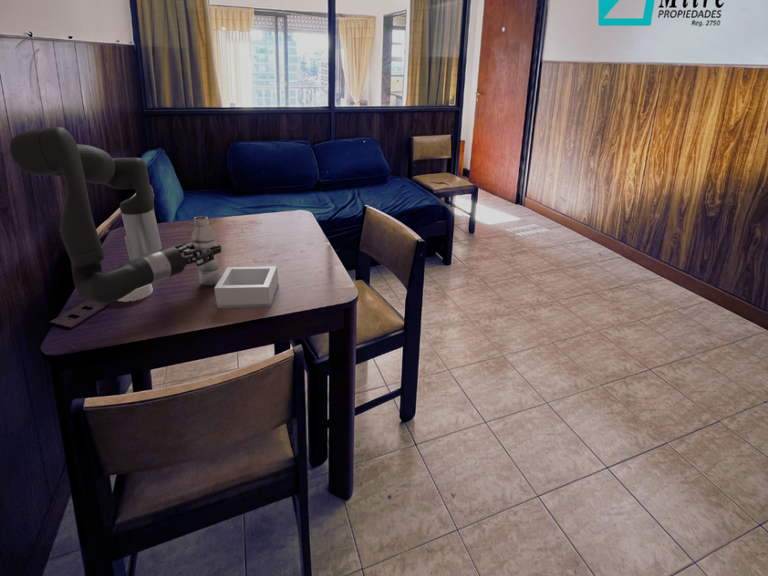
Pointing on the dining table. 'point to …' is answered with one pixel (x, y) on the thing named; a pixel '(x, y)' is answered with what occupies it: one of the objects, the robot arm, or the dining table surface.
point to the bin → (247, 287)
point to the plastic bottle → (204, 240)
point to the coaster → (138, 294)
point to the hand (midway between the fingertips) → (212, 246)
